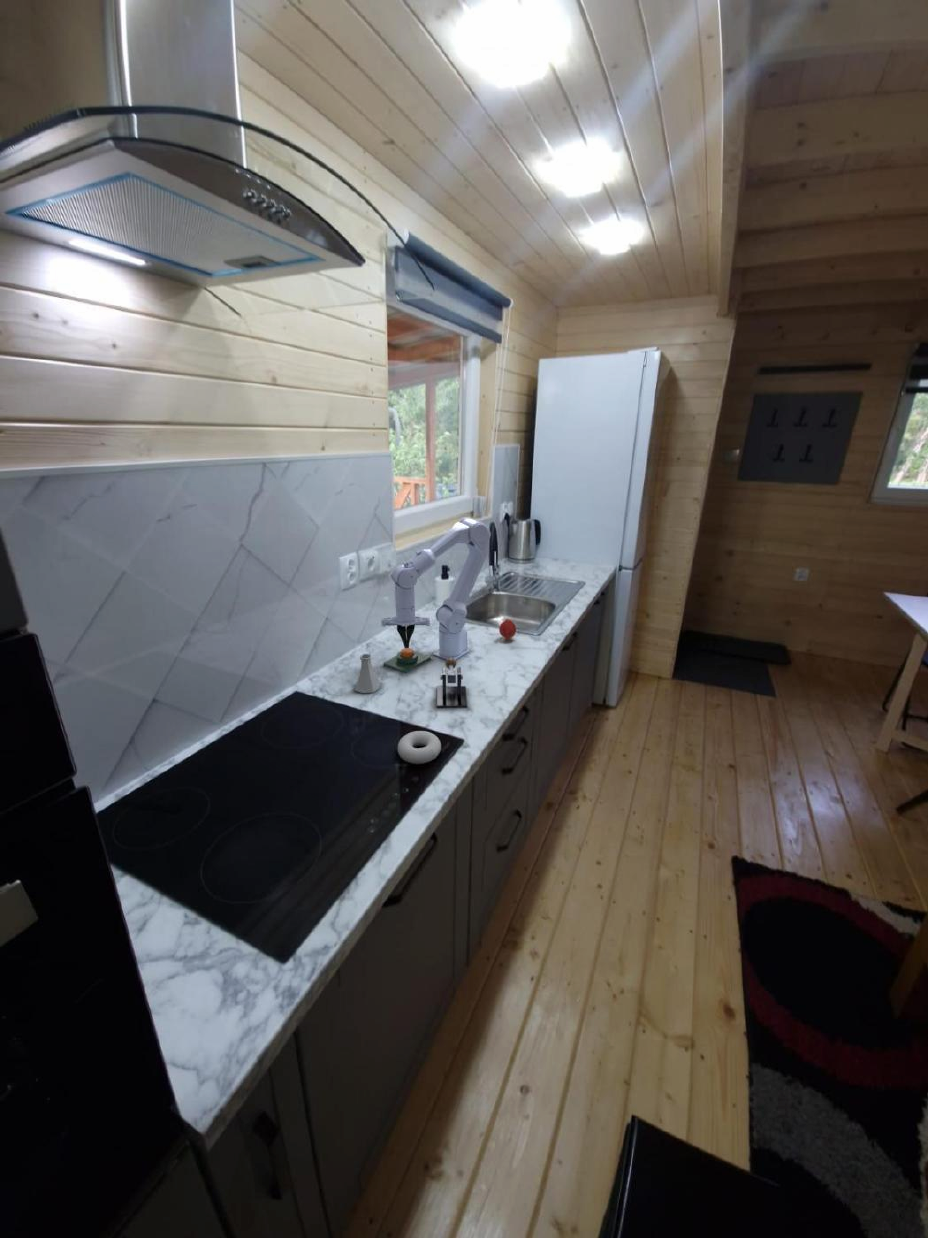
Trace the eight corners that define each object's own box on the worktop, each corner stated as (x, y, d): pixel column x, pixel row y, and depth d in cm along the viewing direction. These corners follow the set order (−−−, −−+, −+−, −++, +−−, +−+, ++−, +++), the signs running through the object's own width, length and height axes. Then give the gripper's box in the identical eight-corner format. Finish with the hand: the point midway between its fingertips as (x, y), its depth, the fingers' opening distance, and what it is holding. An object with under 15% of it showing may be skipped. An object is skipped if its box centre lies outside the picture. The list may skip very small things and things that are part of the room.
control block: (409, 652, 162) (409, 644, 160) (430, 660, 157) (430, 651, 156) (383, 666, 153) (383, 657, 151) (405, 674, 148) (405, 665, 147)
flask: (375, 695, 137) (373, 663, 133) (350, 692, 138) (348, 660, 134) (384, 682, 143) (382, 651, 139) (360, 680, 144) (358, 649, 141)
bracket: (437, 690, 140) (436, 662, 136) (465, 689, 140) (465, 662, 137) (436, 709, 130) (436, 680, 127) (467, 709, 131) (467, 679, 127)
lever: (445, 666, 142) (445, 656, 141) (456, 666, 142) (456, 656, 141) (445, 684, 132) (445, 674, 130) (457, 684, 132) (457, 673, 131)
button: (406, 652, 156) (406, 647, 155) (415, 655, 154) (415, 650, 153) (398, 656, 153) (398, 651, 153) (407, 659, 151) (407, 654, 151)
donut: (410, 736, 119) (389, 760, 111) (409, 724, 118) (388, 747, 109) (448, 746, 116) (429, 771, 107) (448, 733, 115) (429, 758, 106)
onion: (499, 635, 175) (500, 614, 172) (515, 636, 174) (517, 615, 171) (498, 642, 170) (499, 620, 166) (515, 643, 169) (516, 621, 166)
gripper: (379, 610, 143) (381, 652, 149) (429, 610, 144) (430, 652, 149) (381, 602, 150) (384, 642, 155) (429, 601, 151) (430, 642, 156)
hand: (406, 646), depth 153 cm, fingers closed
